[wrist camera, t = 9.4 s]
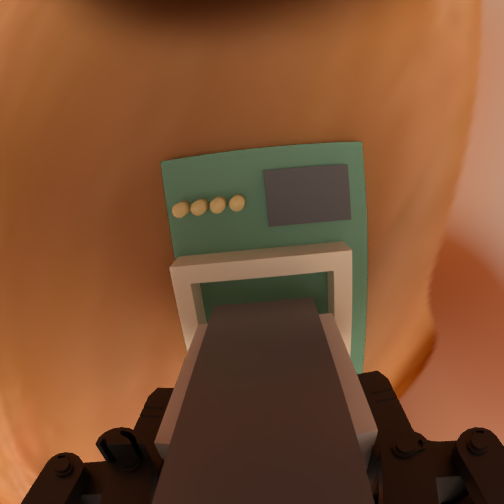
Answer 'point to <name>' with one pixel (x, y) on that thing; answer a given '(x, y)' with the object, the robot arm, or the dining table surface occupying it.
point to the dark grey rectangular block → (264, 415)
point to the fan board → (271, 232)
